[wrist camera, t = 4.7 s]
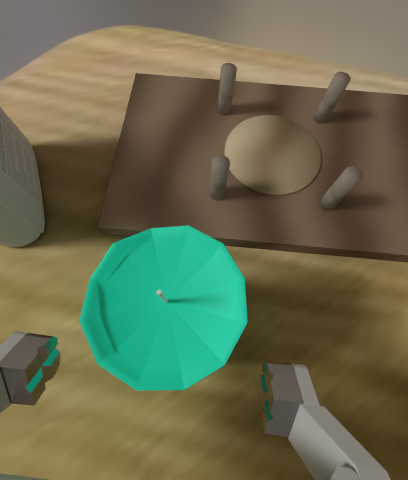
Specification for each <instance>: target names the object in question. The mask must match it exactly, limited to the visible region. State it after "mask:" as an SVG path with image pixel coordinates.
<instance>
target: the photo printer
mask: <svg viewBox="0 0 408 480" xmlns="http://www.w3.org/2000/svg"><path fill="white" fill-rule="evenodd" d="M44 225H45V217H44V208H43V200H42V192H41V186H40V179H39V173H38V166H37V162H36V157H35V153H34V150H33V148H32V146H31V144H30V142H29V141H28V139H27V138H26V137H25V136H24V134H23V133H22V132H21V131H20V130H19V129H18V127H17V126H16V125H15V124H14V123H13V122H12V120H11V119H10V118H9V117H8V116H7V115H6V113H5V112H4V111H3V110H2V109H1V108H0V245H5V246H8V247H21V246H25V245H28V244H30V243H32V242H33V241H35V240H36V239H37V238H38V237H39V236H40V233H43V232H44Z"/></svg>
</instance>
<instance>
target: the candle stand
mask: <svg viewBox="0 0 408 480" xmlns="http://www.w3.org/2000/svg"><path fill="white" fill-rule="evenodd" d="M236 71H237V68H236V66H235V65H234V64H231V63H226V64H223V65H222V66H221V74H220V80H214V79H201V78H188V77H176V76H163V75H151V74H138V73H136V75H135V79H134V83H133V87H132V91H131V95H130V99H129V103H128V107H127V111H126V115H125V119H124V123H123V127H122V131H121V135H120V139H119V143H118V147H117V151H116V155H115V159H114V163H113V167H112V171H111V175H110V179H109V183H108V187H107V191H106V195H105V199H104V203H103V207H102V211H101V215H100V219H99V223H98V228H99V229H100V230H101V231H102V232H103V234H106V235H117V236H128V237H130V236H133V235H135V234H138V233H140V232H143V231H145V230H148V229H151V228H162V227H175V226H191V227H193V228H194V229H196V230H198V231H200V232H202V233H204V234H206V235H208V236H210V237H212V238H213V239H215V240H217V241H219V242H221V243H223V244H224V245H226V246H237V247H248V248H259V249H270V250H280V251H291V252H302V253H313V254H324V255H335V256H346V257H357V258H368V259H378V260H389V261H400V262H408V95H402V94H389V93H377V92H364V91H351V90H345V88H346V87H347V85H348V83H349V81H350V76H349V75H348V74H347V73H344V72H338V73H336V74H335V75H334V77H333V79H332V81H331V83H330V85H329V87H328V89H326V88H314V87H301V86H289V85H276V84H264V83H251V82H239V81H235V78H236Z"/></svg>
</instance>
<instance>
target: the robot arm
mask: <svg viewBox="0 0 408 480" xmlns="http://www.w3.org/2000/svg"><path fill="white" fill-rule="evenodd" d="M57 344H58V342H57V338H56V337H54V336H47V335H40V334H33V333H25V332H14V333H12V334H11V335H10V336H9V337H8V338H7V339H6V340H5V341H4V342H3V343H2V344H1V345H0V413H1V412H2V411H3V410H5V409H6V408H7V407H9V406H10V405H11V403H12V404H23V405H35V404H36V402H37V401H38V399H39V398H40V396H41V395H42V393H43V392H44V390H45V382H47V381H49V380H50V379H52V378H53V376H54V375H55V373H56V372H57V369H58V366H59V364H60V352H59V351H58V350H57V349H56V348H55V347H56V346H57ZM263 372H264V374H263V375H262V376H261V378H260V382H259V398H260V403H261V405H262V406H263V411H262V422H263V429H264V434H270V435H276V436H283V437H288V440H289V441H290V443H291V444H292V446H293V447H294V449H295V450H296V452H297V454H298V455H299V457H300V458H301V460H302V461H303V463H304V464H305V466H306V467H307V469H308V471H309V472H310V474H311V475H312V477H313V478H314V480H391V479H390V477H389V475H388V473H387V471H386V470H385V469H384V468H383V467H382V466H381V465H380V464H379V463H378V462H377V461H376V460H375V459H374V458H373V457H372V456H371V455H370V454H369V452H368V451H367V450H366V449H365V448H364V447H363V446H362V445H361V444H360V443H359V442H358V441H357V440H356V439H355V438H354V437H353V436H352V435H351V434H350V433H349V432H348V431H347V430H346V429H345V427H344V426H343V425H342V424H341V423H340V422H339V421H338V420H337V419H336V418H335V417H334V416H333V415H332V414H331V413H330V412H329V411H328V410H327V409H326V408H325V407H324V406H320V404H319V401H318V398H317V395H316V392H315V389H314V386H313V383H312V380H311V378H310V375H309V372H308V369H307V367H306V366H305V365H300V364H291V363H282V362H272V361H265V362H264V366H263ZM0 480H48V479H40V478H32V477H25V476H17V475H9V474H1V473H0Z"/></svg>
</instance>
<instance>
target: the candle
mask: <svg viewBox="0 0 408 480" xmlns="http://www.w3.org/2000/svg"><path fill="white" fill-rule="evenodd" d="M79 322H80V324H81V326H82V329H83V331H84V333H85V336H86V338H87V340H88V343H89V345H90V347H91V350H92V352H93V355H94V357H95V359H96V362H97V364H98V365H100V366H101V367H103V368H104V369H106V370H107V371H109V372H110V373H112V374H113V375H114V376H116V377H117V378H119V379H120V380H122V381H123V382H125V383H126V384H128V385H129V386H131V387H132V388H133V389H135V390H185V389H187V388H188V387H190V386H191V385H193V384H195V383H196V382H198V381H200V380H201V379H203V378H204V377H206V376H208V375H209V374H211V373H212V372H214V371H216V370H217V369H219V368H221V367H222V366H224V365H225V364H226V362H227V360H228V358H229V356H230V355H231V353H232V351H233V349H234V347H235V345H236V343H237V341H238V340H239V338H240V336H241V334H242V332H243V330H244V328H245V326H246V324H247V323H248V321H247V305H246V290H245V278H244V277H243V275H242V273H241V272H240V270H239V269H238V267H237V265H236V264H235V262H234V260H233V259H232V257H231V256H230V254H229V252H228V251H227V249H226V247H225V246H224V244H223V243H221V242H219V241H217V240H215V239H213V238H212V237H210V236H208V235H206V234H204V233H202V232H200V231H198V230H196V229H194V228H193V227H191V226H175V227H162V228H151V229H148V230H145V231H143V232H140V233H138V234H135V235H133V236H130V237H127V238H125V239H122V240H120V241H117V242H115V243H113V244H112V245H111V247H110V248H109V250H108V252H107V253H106V255H105V256H104V258H103V259H102V261H101V262H100V264H99V265H98V267H97V269H96V270H95V272H94V273H93V275H92V276H91V278H90V280H89V284H88V288H87V292H86V296H85V301H84V305H83V309H82V313H81V317H80V321H79Z"/></svg>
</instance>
